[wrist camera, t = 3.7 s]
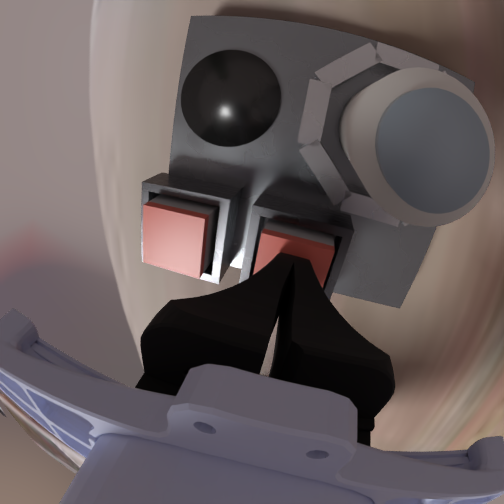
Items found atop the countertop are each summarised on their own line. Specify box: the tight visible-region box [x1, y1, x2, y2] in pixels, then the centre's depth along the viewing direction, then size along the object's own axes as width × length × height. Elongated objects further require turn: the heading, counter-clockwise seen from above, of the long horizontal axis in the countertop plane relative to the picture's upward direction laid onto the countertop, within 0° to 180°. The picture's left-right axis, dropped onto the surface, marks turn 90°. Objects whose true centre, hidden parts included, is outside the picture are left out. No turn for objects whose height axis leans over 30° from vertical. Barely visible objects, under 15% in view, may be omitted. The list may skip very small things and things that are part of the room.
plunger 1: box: [143, 194, 220, 279], centre depth 14 cm, size 3×3×2 cm
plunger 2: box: [253, 218, 335, 288], centre depth 13 cm, size 3×3×2 cm
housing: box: [141, 16, 475, 308], centre depth 13 cm, size 13×14×4 cm
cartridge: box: [339, 67, 495, 227], centre depth 9 cm, size 4×4×7 cm
